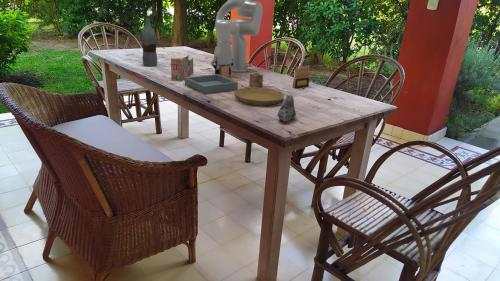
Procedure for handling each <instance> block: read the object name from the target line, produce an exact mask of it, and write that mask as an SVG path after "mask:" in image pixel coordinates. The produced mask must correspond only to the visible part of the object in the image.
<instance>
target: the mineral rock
mask: <svg viewBox="0 0 500 281" xmlns="http://www.w3.org/2000/svg"><path fill="white" fill-rule="evenodd" d="M285 96H286V97H285V99H284V100H282V102H281V105H280V108H279V109H278V112H277V118H279V119H281V121H282V122H288V121H291V120H293V119H294V118H295V117H296V116H297V112H296V109H295V99H294V95H291V94H286V95H285Z"/></svg>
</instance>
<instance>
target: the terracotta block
mask: <svg viewBox="0 0 500 281" xmlns="http://www.w3.org/2000/svg"><path fill="white" fill-rule="evenodd" d="M218 69H219V75H221V76H223V77H226V78H228V79H230V78H229V77H230V75H229V66H227V65H220V66H219V68H218Z"/></svg>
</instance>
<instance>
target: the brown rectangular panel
mask: <svg viewBox="0 0 500 281" xmlns="http://www.w3.org/2000/svg"><path fill="white" fill-rule="evenodd" d="M293 77H294V78H293V82H292V88H293V89H302V88H306V87H309V86H310V85H309V84H310V64H308V65H301V66H300V65H298V66H296V67H295V72H294V76H293Z"/></svg>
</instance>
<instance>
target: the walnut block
mask: <svg viewBox="0 0 500 281" xmlns="http://www.w3.org/2000/svg"><path fill="white" fill-rule="evenodd" d="M263 82H264V74H261V73H258V72H256V73H255V72H254V73H249V84H248V85H249V86H248V88H249V87H257V88H263Z"/></svg>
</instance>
